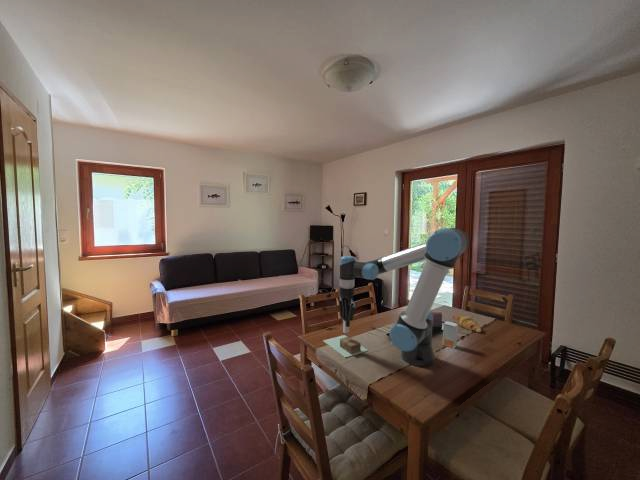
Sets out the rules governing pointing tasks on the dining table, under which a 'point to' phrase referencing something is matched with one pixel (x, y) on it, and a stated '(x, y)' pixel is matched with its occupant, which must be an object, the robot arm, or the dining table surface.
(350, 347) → the walnut block
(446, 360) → the dining table surface
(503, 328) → the dining table surface
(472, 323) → the croissant
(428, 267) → the robot arm
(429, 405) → the dining table surface
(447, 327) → the skincare box
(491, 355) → the dining table surface
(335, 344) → the mat
